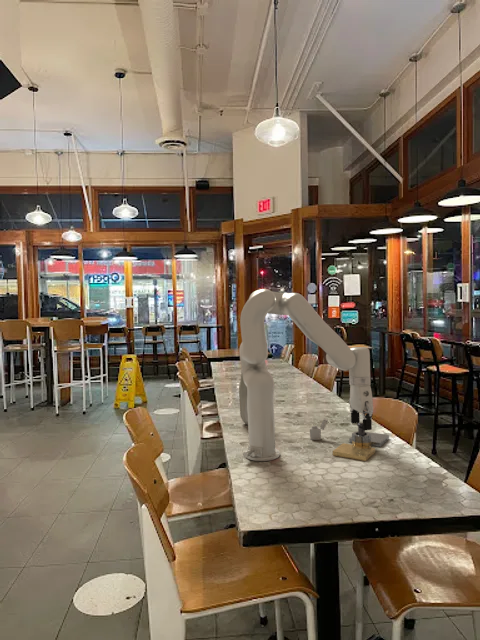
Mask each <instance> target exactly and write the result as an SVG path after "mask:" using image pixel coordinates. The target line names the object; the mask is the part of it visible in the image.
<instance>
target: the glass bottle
mask: <svg viewBox="0 0 480 640" xmlns="http://www.w3.org/2000/svg"><path fill="white" fill-rule="evenodd" d="M240 369H241V368H240ZM240 373H241V374H240V381H239V387H238V399H239V416H240V419H241V420H242V422H243V423H244V424H245V425H248V411H247V386H246V385H245V383H244V380H243V375H242V369H241V371H240Z"/></svg>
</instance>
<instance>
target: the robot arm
mask: <svg viewBox="0 0 480 640" xmlns="http://www.w3.org/2000/svg"><path fill="white" fill-rule="evenodd" d="M268 314H270V315H279V316H288V317H289V318H290V319H291V320H292V321H293V323H294V324H295V325H296V327H298V328H299V330H300V331H301V332H302V333H303V335H304V336H305V337H307V338H308V340H310V341H311V342H312V343H314V344H315V345H316V346H318V347H320V348H321V349H322V351H324V352H325V354H326V355H325V359H326V362H327V364H328V365H330V366H331V367H333V368H336V369H338V370H341V371H345V372H346V371H348V373H349V374H348V377H349V379H348V381H349V385H350V386H349V387H350V388H349V389H350V390H349V399H348V402H349V408H350V410H349V411H350V422H351V424H357V423H361V422H360V414H361V415H362V423H363V430H364V431H365V432H366V431H371V430H373V427H372V425H373V424H372V420H373V416H374V415H373V413H374V402H373V392H372V388H371V360H370V359H371V357H370V356H371V355H370V354H371V353H370V349H369V348H368V347H367V346H366V347H365V346H353V347H349V345H348V344H347V342H345V341H344V340H343V338H342V337H340V335H339V334H338V333H337V332H335V330H333V329H332V328H331V326H330V325H329V324H328V323H326V321H325V320H324V319H323V318H322V317H321V316H320V315H319V313H317V311H316V310H315V308H314V307H313V306H312V305H311V303H310V302H308V300H307V299H306V298H305V297H304V296H303V294H300V293H298V292H276V291H272V290H270V289H268V288H262V289H261V288H260V289H257V290H255V291H253V292H252V293H250V295H249V297H248V299H247V301H246V302H245V304H244V305H243V308H242V310H241V312H240V317H239V319H240V320H239V321H240V323H239V324H240V334H241V343H240V345H239V351H238V352H239V361H240V366H241V368H240V369H242V375H243V380H244V383H245V385H246V386H247V411H248V424H247V427H248V428H247V429H248V446H247V450H245V451H244V452H243V453H242V456H243V458H246V459H248V460H251V461H253V462H269V461H274V460H276V459H278V458H279V457H280V455H281V451H280V450H279V449H278V448H276V431H275V429H276V428H275V426H276V425H275V408H274V407H275V404H274V403H275V398H274V396H275V382H274V381H275V380H274V377H273V375H272V374H271V372H270V371H268V369H267V363H266V360H267V359H268V356H269V349H268V344H267V338H266V331H265V328H266V327H265V320H266V317H267V315H268ZM307 338H306V339H307Z"/></svg>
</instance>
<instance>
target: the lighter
mask: <svg viewBox="0 0 480 640" xmlns="http://www.w3.org/2000/svg"><path fill="white" fill-rule="evenodd" d="M328 422H329V420H328V419H326V418H323V420H322V422H321V425H320V426H319V427H318V425H312V426H311V427H309V440H310V441H311V440H312V441H314V440H315V441H316V440H322V434H321V433H322V432H321V430H323V431H324V430H325V429H326V426H327V424H328Z"/></svg>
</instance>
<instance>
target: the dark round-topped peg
mask: <svg viewBox="0 0 480 640" xmlns="http://www.w3.org/2000/svg"><path fill="white" fill-rule="evenodd" d="M356 424H357V430H358V435H361V436H363V435H365V432H366V430H365V431H364V430H363V422H359V423H356Z"/></svg>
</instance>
